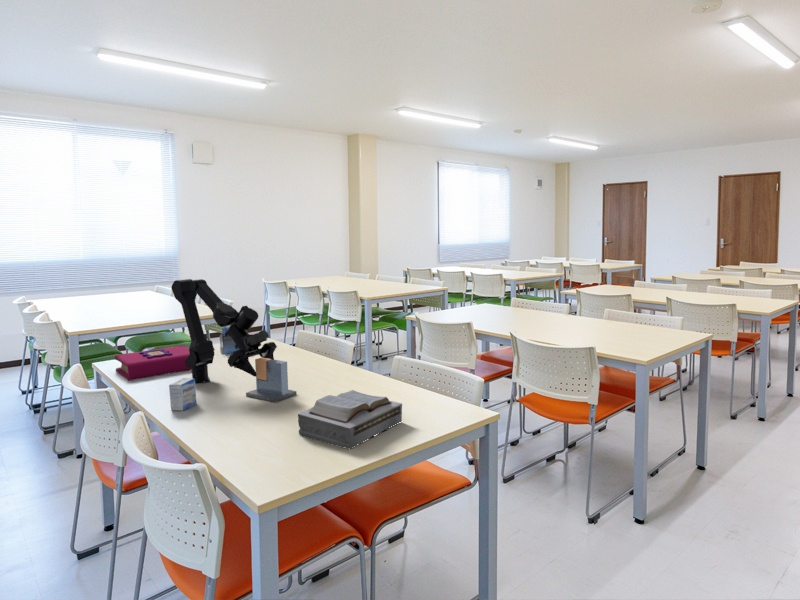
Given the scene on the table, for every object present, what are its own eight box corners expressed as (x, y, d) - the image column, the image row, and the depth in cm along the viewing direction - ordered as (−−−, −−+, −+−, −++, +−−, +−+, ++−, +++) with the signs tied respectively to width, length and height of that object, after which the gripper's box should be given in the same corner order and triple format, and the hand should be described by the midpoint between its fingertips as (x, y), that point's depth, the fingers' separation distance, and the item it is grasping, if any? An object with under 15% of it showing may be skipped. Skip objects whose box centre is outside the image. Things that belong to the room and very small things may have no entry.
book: (201, 369, 226) (200, 351, 225) (129, 382, 208) (127, 362, 207) (184, 360, 242) (183, 343, 241) (115, 371, 224) (113, 353, 223)
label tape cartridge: (238, 350, 259) (237, 324, 258) (241, 351, 256) (240, 325, 255) (220, 353, 254) (218, 327, 252) (223, 354, 251) (222, 328, 249)
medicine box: (183, 411, 172) (181, 384, 171) (170, 410, 173) (168, 384, 172) (197, 403, 180) (195, 378, 179) (184, 402, 181) (183, 377, 180)
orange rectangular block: (256, 379, 189) (255, 359, 188) (262, 377, 191) (261, 357, 190) (266, 381, 186) (265, 361, 185) (272, 379, 189) (271, 359, 188)
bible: (288, 431, 155) (287, 398, 154) (361, 409, 174) (360, 379, 172) (339, 455, 138) (338, 418, 137) (413, 427, 157) (413, 394, 156)
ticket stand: (246, 396, 187) (244, 361, 186) (267, 388, 196) (265, 355, 194) (276, 402, 180) (274, 366, 178) (296, 394, 188) (295, 359, 187)
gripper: (231, 328, 181) (256, 364, 176) (271, 319, 196) (296, 352, 192) (216, 348, 186) (241, 384, 181) (257, 339, 201) (280, 371, 197)
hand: (265, 372), depth 188 cm, fingers open, 9 cm apart
